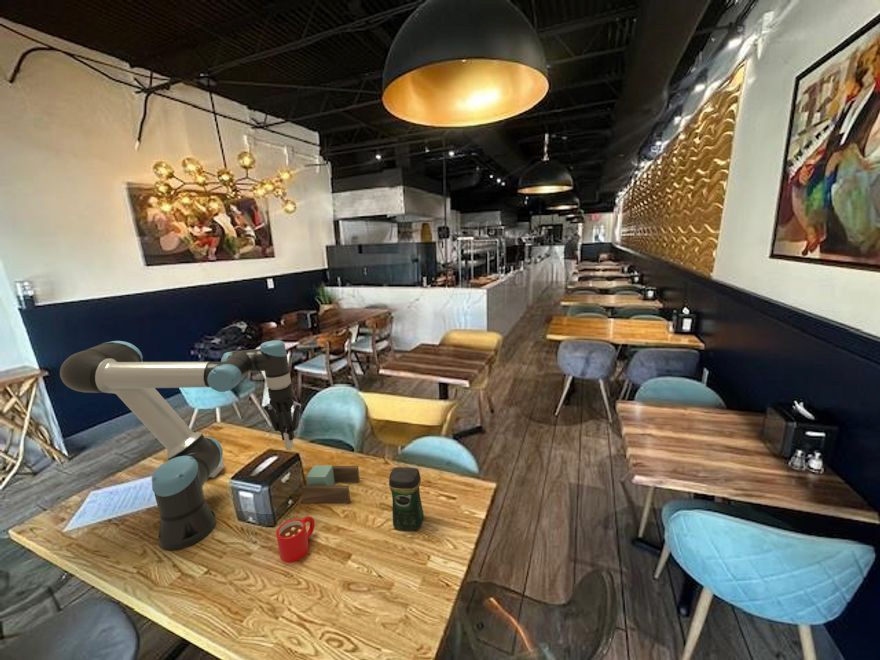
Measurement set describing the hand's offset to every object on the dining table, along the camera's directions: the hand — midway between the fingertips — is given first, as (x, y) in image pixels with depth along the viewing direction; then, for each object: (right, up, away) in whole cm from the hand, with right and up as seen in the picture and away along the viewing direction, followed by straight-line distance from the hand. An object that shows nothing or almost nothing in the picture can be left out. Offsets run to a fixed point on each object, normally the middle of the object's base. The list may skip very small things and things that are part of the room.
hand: (289, 447), depth 131 cm
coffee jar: (+43, -19, -14) cm, 50 cm away
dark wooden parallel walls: (+15, -17, +3) cm, 22 cm away
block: (+11, -17, +3) cm, 20 cm away
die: (-38, -16, +17) cm, 44 cm away
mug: (+12, -23, -21) cm, 33 cm away
